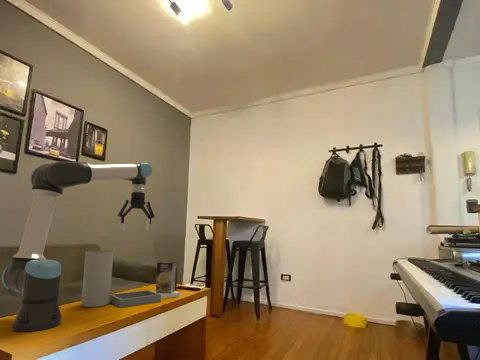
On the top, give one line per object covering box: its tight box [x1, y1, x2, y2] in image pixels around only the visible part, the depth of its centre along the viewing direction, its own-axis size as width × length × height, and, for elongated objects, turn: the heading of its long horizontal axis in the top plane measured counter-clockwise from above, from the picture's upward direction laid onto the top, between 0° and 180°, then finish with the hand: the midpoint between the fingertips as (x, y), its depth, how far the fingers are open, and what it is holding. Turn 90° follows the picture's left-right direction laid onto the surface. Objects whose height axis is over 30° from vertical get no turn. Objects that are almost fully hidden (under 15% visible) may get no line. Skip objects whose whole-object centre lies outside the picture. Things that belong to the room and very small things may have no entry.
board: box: [152, 290, 181, 300], centre depth 167 cm, size 12×12×2 cm
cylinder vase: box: [80, 250, 114, 308], centre depth 149 cm, size 12×12×25 cm
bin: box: [109, 289, 162, 309], centre depth 153 cm, size 20×16×4 cm
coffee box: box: [155, 261, 177, 293], centre depth 169 cm, size 9×6×16 cm
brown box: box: [175, 266, 178, 291], centre depth 185 cm, size 10×10×15 cm
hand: (135, 229), depth 172 cm, fingers open, 13 cm apart
